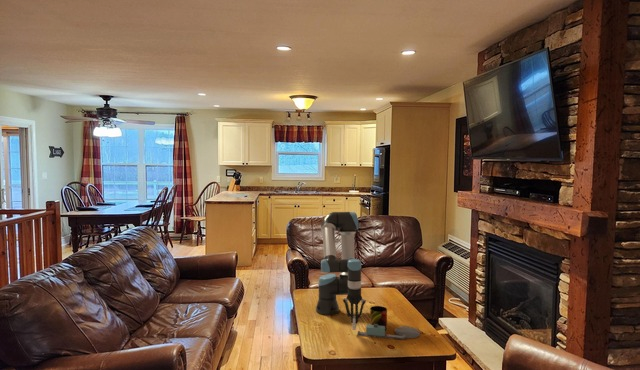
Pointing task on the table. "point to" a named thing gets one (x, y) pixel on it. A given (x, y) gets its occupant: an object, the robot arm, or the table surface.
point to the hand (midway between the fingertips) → (354, 328)
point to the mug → (378, 316)
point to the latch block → (375, 330)
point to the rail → (383, 336)
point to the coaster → (407, 332)
